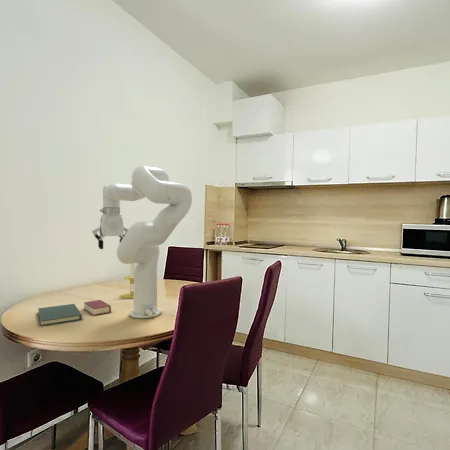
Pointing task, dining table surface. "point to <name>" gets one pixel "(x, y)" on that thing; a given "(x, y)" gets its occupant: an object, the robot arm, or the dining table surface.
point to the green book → (58, 314)
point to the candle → (131, 277)
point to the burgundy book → (97, 307)
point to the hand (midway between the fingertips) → (111, 248)
